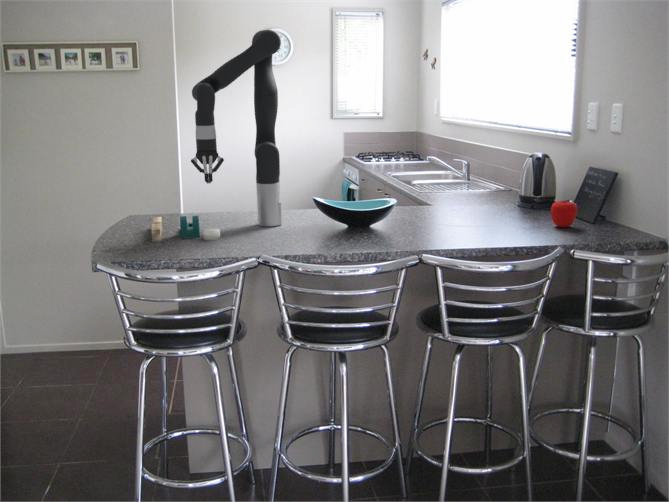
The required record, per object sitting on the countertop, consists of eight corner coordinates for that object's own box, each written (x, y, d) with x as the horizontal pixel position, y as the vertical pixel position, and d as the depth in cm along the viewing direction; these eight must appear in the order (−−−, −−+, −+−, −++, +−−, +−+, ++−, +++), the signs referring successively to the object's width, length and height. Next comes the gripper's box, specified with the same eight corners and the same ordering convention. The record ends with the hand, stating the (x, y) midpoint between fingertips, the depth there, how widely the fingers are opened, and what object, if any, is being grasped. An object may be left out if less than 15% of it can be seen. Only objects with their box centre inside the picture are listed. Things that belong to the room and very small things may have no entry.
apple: (545, 227, 259) (547, 199, 256) (556, 223, 266) (558, 196, 263) (569, 230, 253) (571, 202, 250) (580, 226, 259) (582, 199, 257)
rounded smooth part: (220, 236, 253) (219, 227, 252) (221, 240, 246) (220, 230, 246) (202, 237, 251) (202, 228, 250) (203, 241, 245) (202, 231, 244)
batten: (162, 227, 268) (161, 216, 266) (160, 241, 245) (159, 229, 244) (154, 228, 267) (153, 216, 266) (152, 241, 244) (151, 229, 243)
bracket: (199, 237, 251) (198, 217, 249) (181, 238, 249) (179, 218, 247) (199, 227, 268) (198, 208, 266) (182, 228, 267) (181, 209, 265)
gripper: (223, 136, 256) (225, 181, 260) (187, 137, 253) (191, 182, 258) (224, 137, 249) (226, 183, 253) (188, 138, 246) (191, 185, 251)
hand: (208, 183), depth 255 cm, fingers closed
